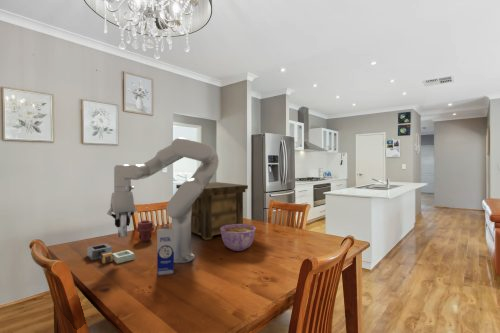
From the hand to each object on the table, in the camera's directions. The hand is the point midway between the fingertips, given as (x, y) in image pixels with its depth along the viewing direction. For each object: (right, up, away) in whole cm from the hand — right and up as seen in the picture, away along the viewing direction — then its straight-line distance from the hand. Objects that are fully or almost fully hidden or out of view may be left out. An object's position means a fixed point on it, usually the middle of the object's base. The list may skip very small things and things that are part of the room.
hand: (122, 225), depth 133 cm
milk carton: (+26, -17, -15) cm, 35 cm away
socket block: (-14, -17, +5) cm, 22 cm away
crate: (+37, -16, +51) cm, 65 cm away
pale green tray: (0, -17, 0) cm, 17 cm away
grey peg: (0, -5, 0) cm, 5 cm away
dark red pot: (-1, -16, +31) cm, 35 cm away
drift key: (-8, -17, -1) cm, 19 cm away
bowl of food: (+57, -17, +17) cm, 62 cm away
